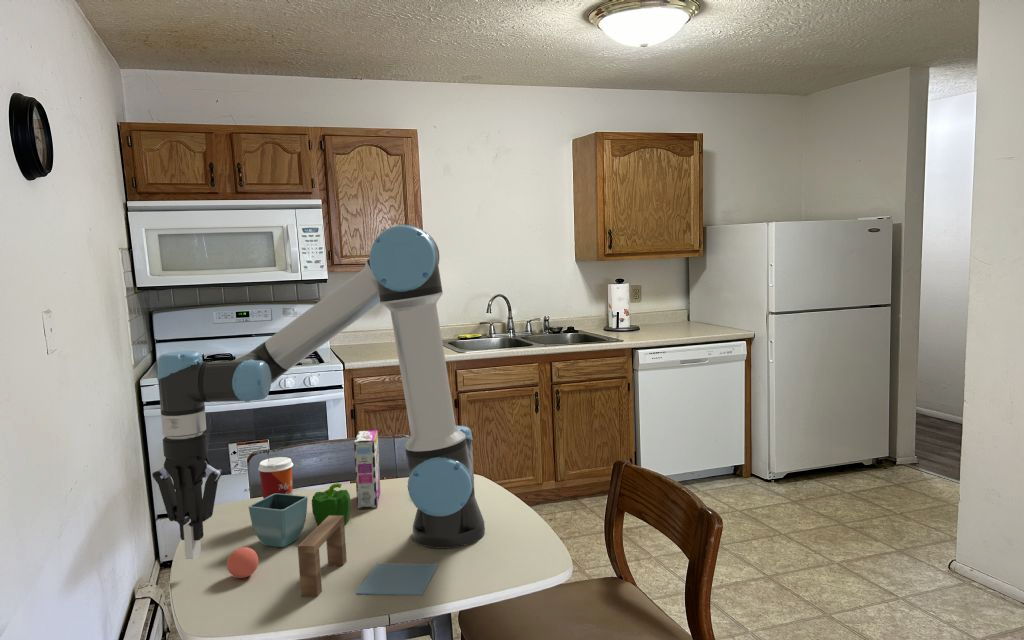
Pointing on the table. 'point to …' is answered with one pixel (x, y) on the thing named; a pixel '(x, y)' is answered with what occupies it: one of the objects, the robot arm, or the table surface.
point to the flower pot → (279, 518)
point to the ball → (242, 562)
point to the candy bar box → (367, 469)
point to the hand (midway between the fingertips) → (193, 555)
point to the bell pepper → (331, 504)
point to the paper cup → (276, 476)
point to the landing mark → (397, 579)
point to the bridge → (310, 557)
